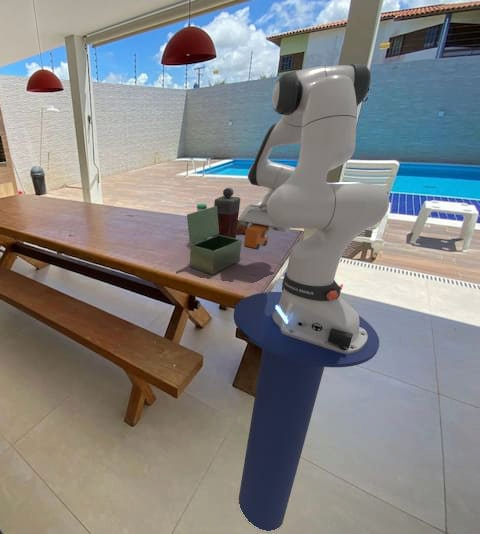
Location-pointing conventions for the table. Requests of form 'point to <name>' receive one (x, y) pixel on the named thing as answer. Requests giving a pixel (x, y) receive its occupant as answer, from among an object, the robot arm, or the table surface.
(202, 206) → the milk bottle
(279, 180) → the robot arm
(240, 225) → the brown rounded piece
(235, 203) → the dark brown tall piece
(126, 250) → the table surface
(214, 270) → the green hinged box
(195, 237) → the lid
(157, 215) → the table surface
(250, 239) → the toy van
